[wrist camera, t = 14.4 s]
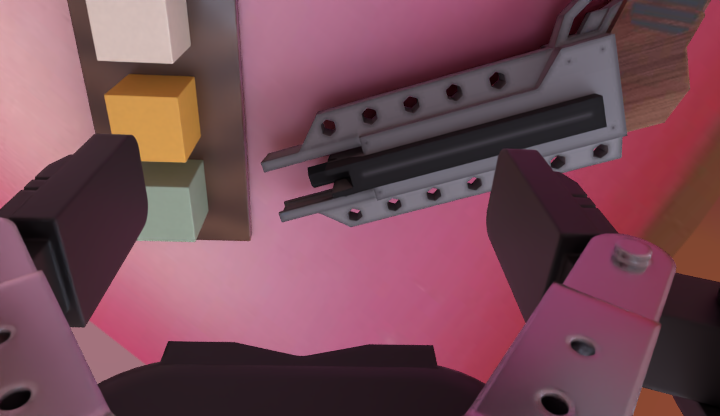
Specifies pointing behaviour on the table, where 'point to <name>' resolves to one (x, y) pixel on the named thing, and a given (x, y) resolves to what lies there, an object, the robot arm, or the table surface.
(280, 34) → the table surface
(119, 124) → the ochre block
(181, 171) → the sage block
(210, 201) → the walnut board
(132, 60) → the cream block
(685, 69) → the futuristic gun
